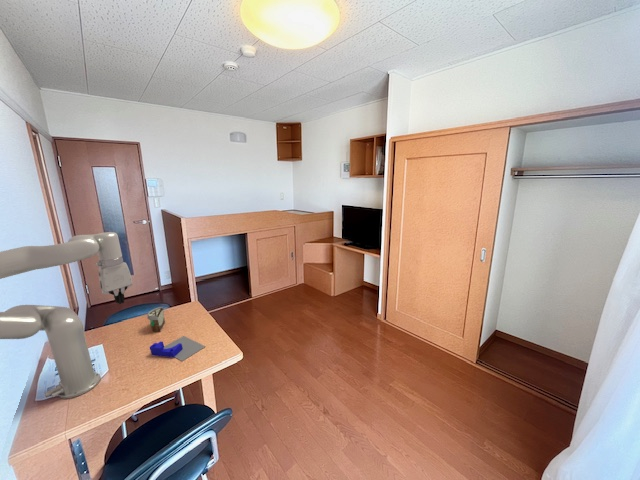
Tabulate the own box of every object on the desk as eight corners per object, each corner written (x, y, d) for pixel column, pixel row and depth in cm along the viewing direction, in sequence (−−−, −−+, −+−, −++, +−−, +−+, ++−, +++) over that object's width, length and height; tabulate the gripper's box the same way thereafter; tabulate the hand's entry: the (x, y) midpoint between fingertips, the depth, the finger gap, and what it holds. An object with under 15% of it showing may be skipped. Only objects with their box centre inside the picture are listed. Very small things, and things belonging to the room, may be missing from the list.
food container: (153, 323, 148) (150, 307, 146) (165, 321, 150) (163, 306, 148) (146, 335, 137) (143, 318, 135) (159, 333, 139) (156, 316, 136)
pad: (181, 361, 116) (181, 360, 116) (160, 349, 125) (160, 348, 125) (205, 346, 126) (205, 346, 126) (184, 336, 135) (183, 335, 135)
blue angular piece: (149, 347, 120) (159, 338, 125) (151, 355, 121) (161, 346, 127) (171, 349, 117) (180, 340, 123) (173, 357, 119) (182, 348, 124)
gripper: (92, 268, 98) (103, 312, 103) (136, 258, 111) (143, 297, 115) (85, 265, 102) (95, 308, 106) (128, 256, 115) (135, 294, 119)
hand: (120, 302), depth 111 cm, fingers closed
